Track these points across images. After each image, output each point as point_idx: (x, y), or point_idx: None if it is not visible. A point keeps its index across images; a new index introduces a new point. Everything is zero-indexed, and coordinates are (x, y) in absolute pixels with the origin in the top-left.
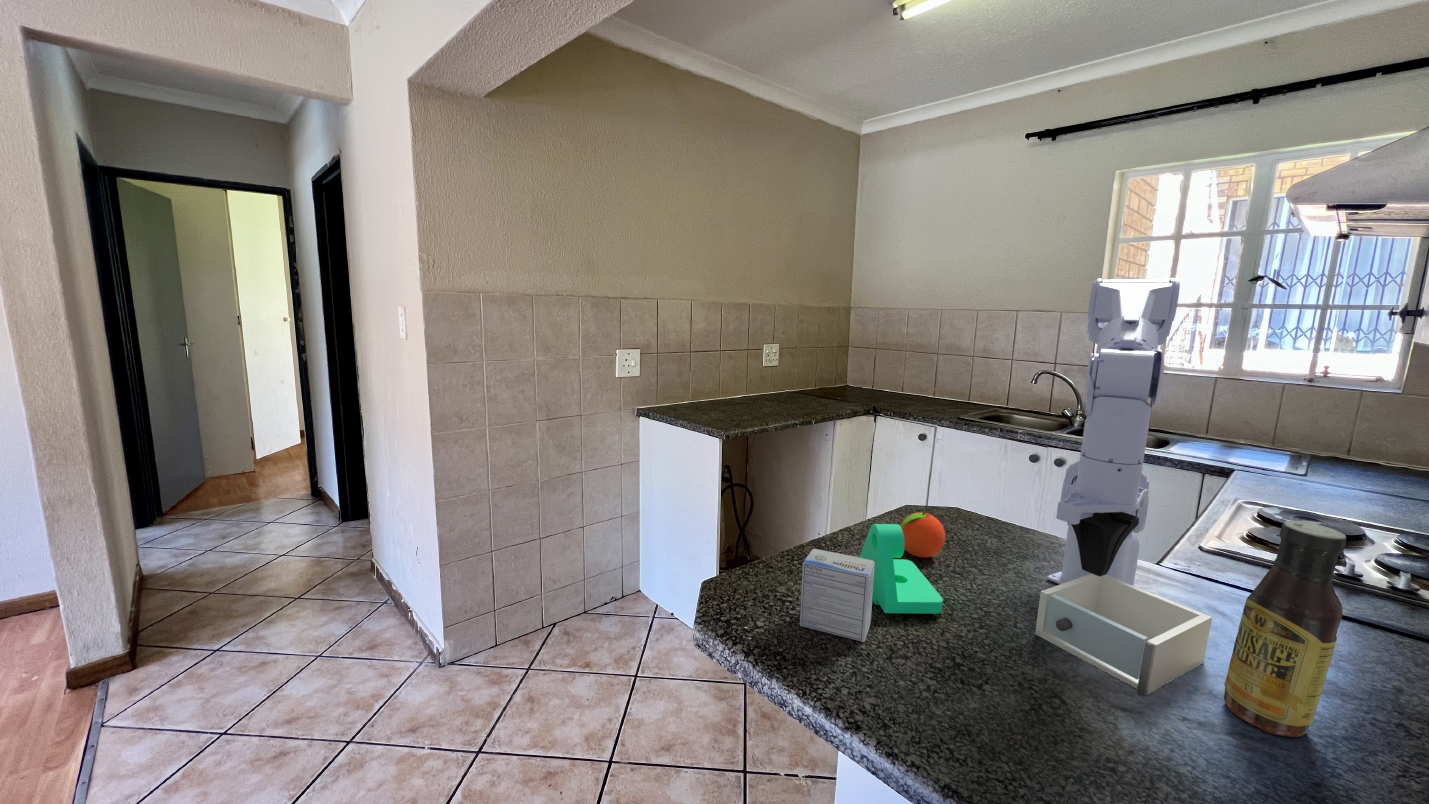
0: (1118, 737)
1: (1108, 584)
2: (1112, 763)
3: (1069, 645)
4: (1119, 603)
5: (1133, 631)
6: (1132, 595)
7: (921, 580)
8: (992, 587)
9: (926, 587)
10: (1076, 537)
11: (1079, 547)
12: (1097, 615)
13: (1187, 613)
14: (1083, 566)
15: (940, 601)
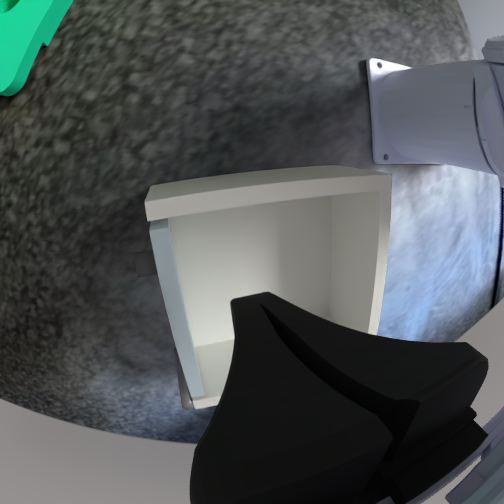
0: (82, 385)
1: (371, 206)
2: (52, 399)
3: None
4: (352, 225)
5: (198, 380)
6: (367, 253)
7: (39, 4)
8: (234, 20)
9: (22, 32)
10: (230, 366)
11: (234, 341)
12: (182, 329)
13: None
14: (232, 310)
15: (2, 89)
